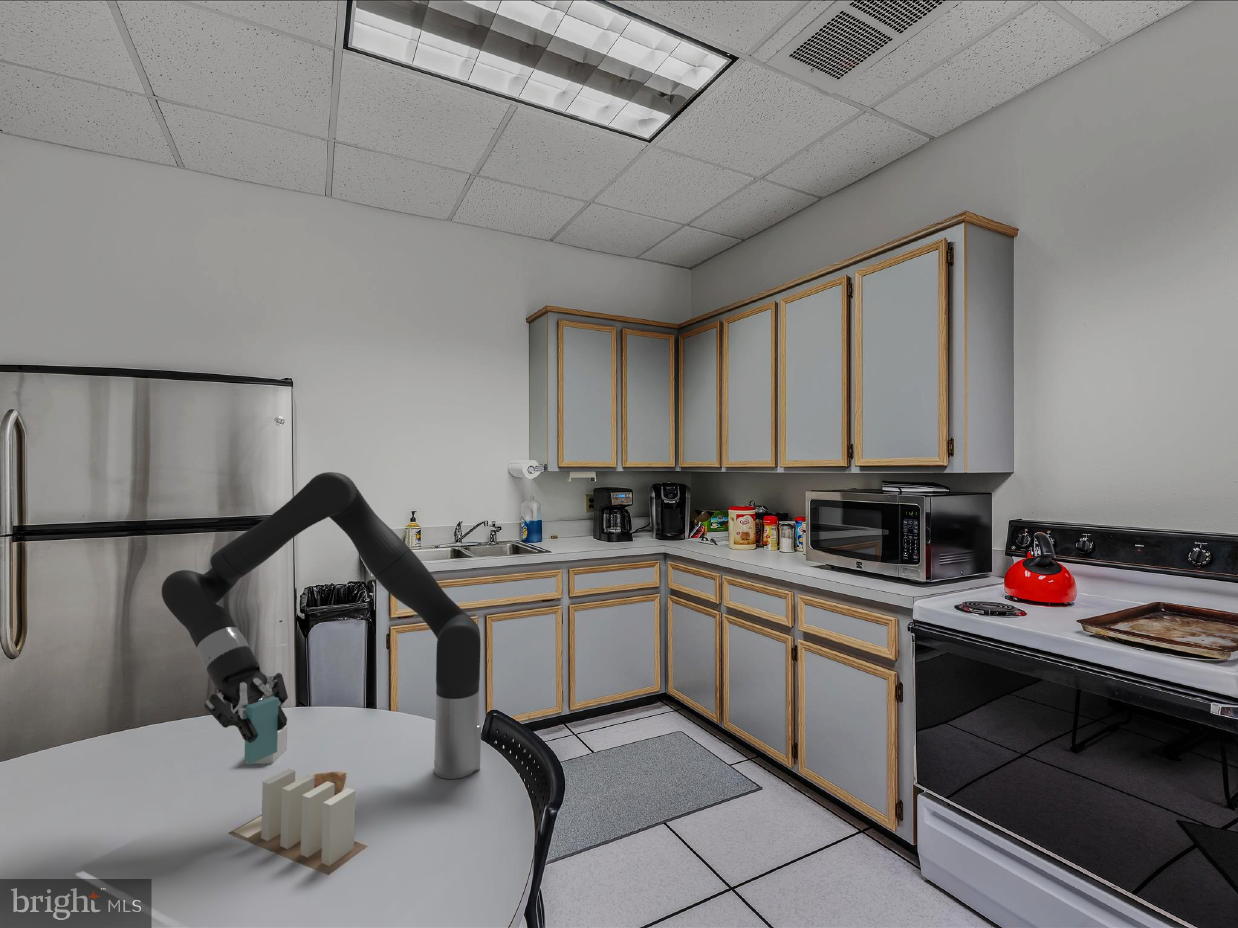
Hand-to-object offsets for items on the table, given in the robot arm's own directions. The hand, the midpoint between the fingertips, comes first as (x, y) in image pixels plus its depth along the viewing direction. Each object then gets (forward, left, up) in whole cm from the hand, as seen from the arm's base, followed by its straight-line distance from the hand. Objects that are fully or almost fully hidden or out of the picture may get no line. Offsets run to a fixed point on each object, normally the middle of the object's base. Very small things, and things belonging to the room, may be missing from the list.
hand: (268, 732), depth 107 cm
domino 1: (-2, +3, -17) cm, 17 cm away
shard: (-12, -10, -19) cm, 25 cm away
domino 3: (-8, +11, -17) cm, 22 cm away
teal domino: (+1, -2, -5) cm, 5 cm away
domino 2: (-5, +7, -17) cm, 19 cm away
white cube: (0, -31, -18) cm, 36 cm away
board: (-5, +7, -18) cm, 20 cm away
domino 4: (-10, +15, -17) cm, 25 cm away
